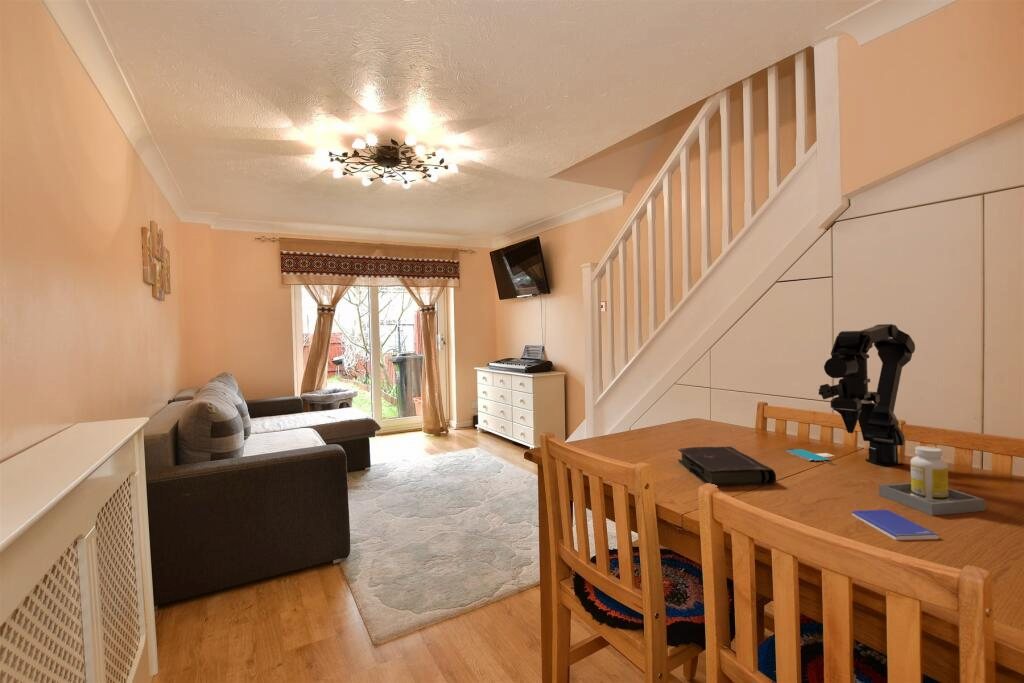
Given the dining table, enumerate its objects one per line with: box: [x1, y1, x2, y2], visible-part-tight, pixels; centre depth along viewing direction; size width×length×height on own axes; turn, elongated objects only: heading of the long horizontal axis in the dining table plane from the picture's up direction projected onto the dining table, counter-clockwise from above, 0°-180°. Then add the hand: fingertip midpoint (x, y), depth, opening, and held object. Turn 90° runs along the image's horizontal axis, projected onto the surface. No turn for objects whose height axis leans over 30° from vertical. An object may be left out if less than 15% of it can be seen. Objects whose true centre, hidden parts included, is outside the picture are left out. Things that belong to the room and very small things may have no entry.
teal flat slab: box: [785, 448, 837, 466], centre depth 149 cm, size 20×12×2 cm, turn 5°
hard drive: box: [851, 509, 940, 541], centre depth 97 cm, size 2×8×12 cm
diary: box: [677, 446, 777, 488], centre depth 137 cm, size 19×25×5 cm
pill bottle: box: [910, 445, 949, 502], centre depth 108 cm, size 6×6×12 cm
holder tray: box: [878, 481, 986, 517], centre depth 108 cm, size 13×13×2 cm
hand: (856, 430), depth 131 cm, fingers open, 9 cm apart
